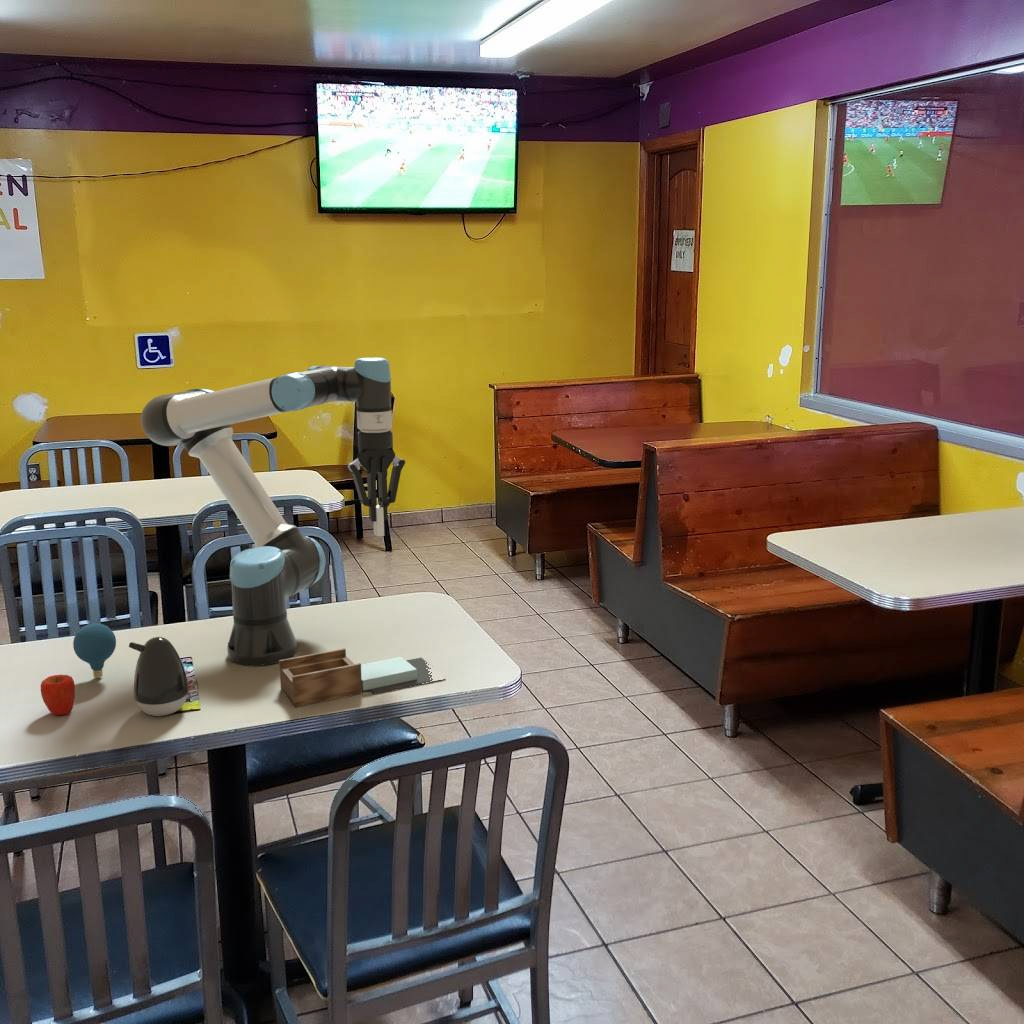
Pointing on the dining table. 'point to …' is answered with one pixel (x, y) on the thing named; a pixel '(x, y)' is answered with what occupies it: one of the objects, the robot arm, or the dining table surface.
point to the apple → (58, 694)
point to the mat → (421, 678)
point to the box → (319, 677)
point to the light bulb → (94, 646)
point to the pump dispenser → (159, 678)
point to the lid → (386, 673)
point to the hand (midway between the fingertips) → (379, 534)
